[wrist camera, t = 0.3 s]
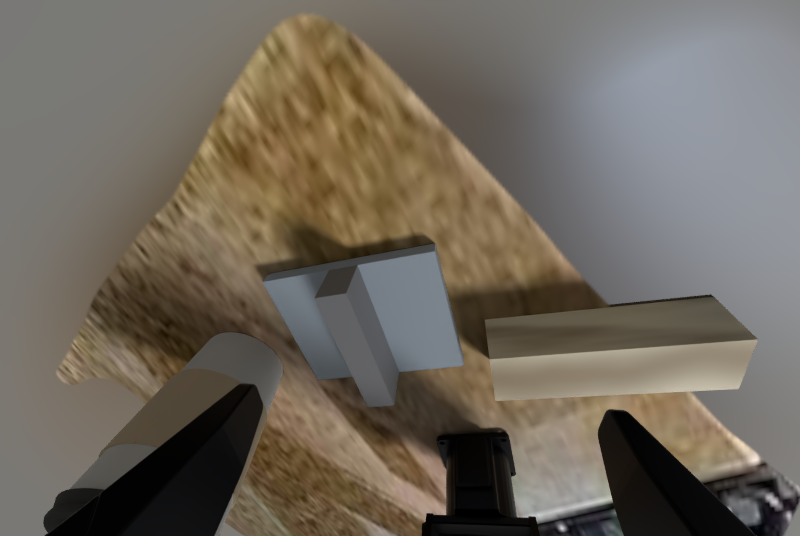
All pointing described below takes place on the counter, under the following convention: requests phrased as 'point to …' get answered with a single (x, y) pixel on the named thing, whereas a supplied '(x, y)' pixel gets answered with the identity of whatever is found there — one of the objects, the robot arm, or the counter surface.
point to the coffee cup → (179, 415)
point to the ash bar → (619, 350)
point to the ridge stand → (370, 318)
